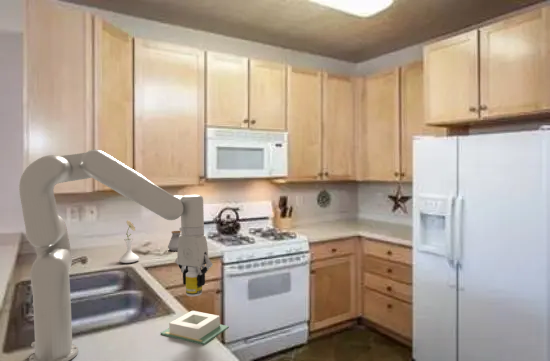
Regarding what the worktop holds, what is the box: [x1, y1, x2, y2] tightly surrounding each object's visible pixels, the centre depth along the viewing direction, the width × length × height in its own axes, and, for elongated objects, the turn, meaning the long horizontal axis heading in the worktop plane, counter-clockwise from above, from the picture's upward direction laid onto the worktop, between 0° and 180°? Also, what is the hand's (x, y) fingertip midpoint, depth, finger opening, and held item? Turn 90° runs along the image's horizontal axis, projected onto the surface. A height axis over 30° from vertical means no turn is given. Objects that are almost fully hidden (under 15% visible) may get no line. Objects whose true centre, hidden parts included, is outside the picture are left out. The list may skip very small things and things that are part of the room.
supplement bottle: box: [185, 266, 203, 297], centre depth 129 cm, size 5×5×10 cm
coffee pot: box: [167, 230, 181, 252], centre depth 262 cm, size 21×12×15 cm, turn 127°
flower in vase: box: [118, 220, 140, 264], centre depth 229 cm, size 13×11×25 cm
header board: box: [160, 310, 230, 346], centre depth 129 cm, size 18×14×4 cm
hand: (194, 284), depth 129 cm, fingers closed on supplement bottle, 5 cm apart
